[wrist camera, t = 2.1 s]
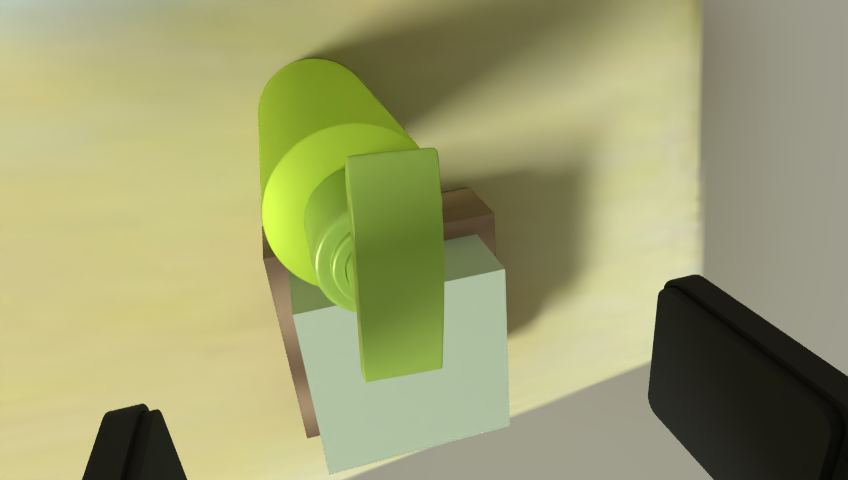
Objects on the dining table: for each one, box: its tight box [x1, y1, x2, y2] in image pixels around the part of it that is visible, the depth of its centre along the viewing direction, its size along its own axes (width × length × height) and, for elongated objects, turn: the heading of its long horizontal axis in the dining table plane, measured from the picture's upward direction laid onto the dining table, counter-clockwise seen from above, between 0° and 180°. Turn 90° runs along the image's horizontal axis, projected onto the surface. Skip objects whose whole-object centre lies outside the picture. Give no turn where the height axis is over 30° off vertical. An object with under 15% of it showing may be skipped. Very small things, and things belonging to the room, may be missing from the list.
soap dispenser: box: [258, 59, 444, 383], centre depth 21 cm, size 6×7×20 cm
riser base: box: [262, 188, 495, 438], centre depth 34 cm, size 12×12×4 cm
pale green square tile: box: [288, 234, 510, 475], centre depth 31 cm, size 10×10×4 cm
